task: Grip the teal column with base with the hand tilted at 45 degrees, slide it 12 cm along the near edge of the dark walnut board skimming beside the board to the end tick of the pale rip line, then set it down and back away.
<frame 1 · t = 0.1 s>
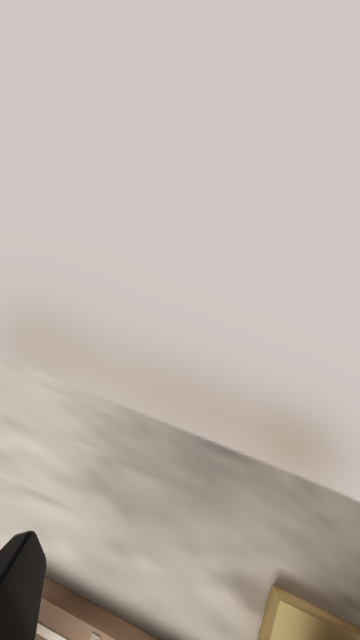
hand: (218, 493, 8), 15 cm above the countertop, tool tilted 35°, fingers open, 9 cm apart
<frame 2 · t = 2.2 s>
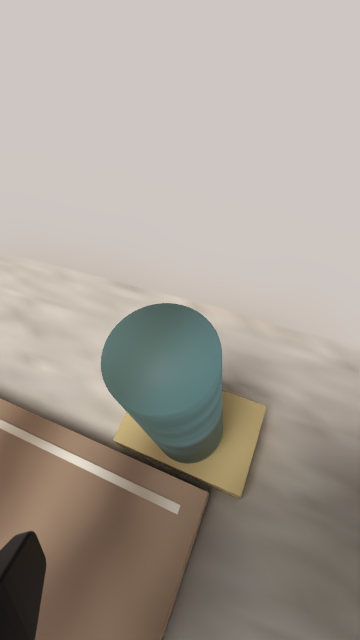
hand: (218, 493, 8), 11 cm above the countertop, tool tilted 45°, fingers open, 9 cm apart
teal column with base: (191, 434, 19), on the countertop
board: (17, 493, 18), on the countertop
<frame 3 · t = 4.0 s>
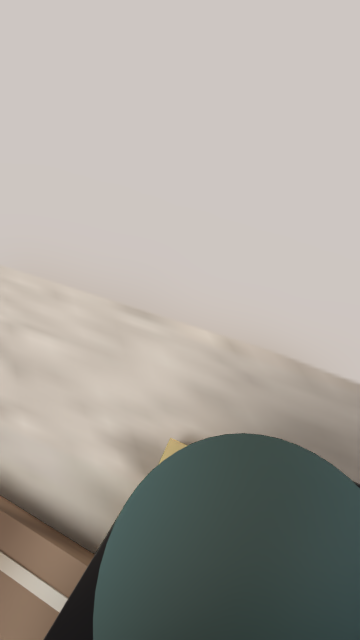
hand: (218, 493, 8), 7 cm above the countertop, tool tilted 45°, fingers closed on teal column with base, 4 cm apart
teal column with base: (229, 546, 13), on the countertop, touching gripper
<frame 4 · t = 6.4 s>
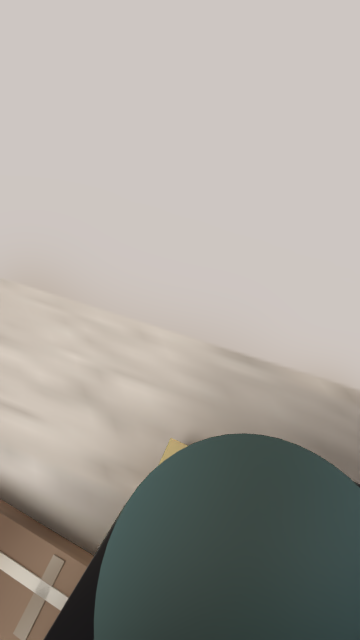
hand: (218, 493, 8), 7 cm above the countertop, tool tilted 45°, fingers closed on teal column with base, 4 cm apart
teal column with base: (230, 546, 13), point 1 cm above the countertop, touching gripper
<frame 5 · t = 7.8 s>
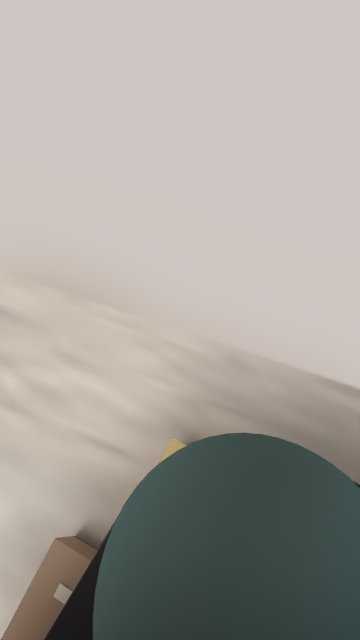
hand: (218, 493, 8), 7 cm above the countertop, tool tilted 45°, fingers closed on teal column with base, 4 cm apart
teal column with base: (229, 546, 13), point 1 cm above the countertop, touching gripper
when the fingers open (7 cm above the countertop, at t = 8.6 s): teal column with base stays where it is, on the countertop.
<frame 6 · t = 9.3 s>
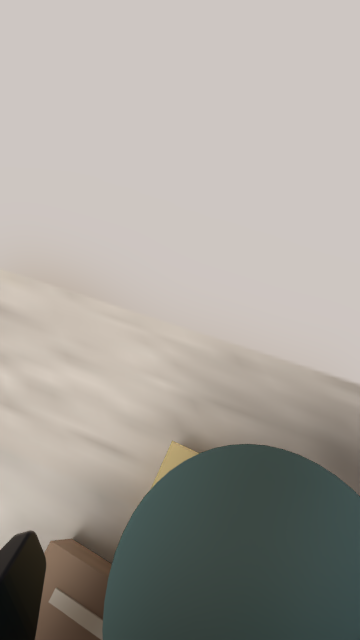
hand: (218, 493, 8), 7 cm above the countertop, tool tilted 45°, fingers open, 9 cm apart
teal column with base: (230, 548, 13), on the countertop
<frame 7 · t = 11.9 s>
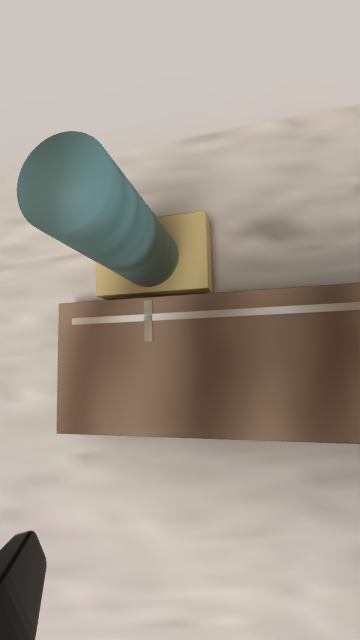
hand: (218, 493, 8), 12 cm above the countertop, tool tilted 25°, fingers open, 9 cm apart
teal column with base: (159, 266, 22), on the countertop
board: (222, 363, 20), on the countertop
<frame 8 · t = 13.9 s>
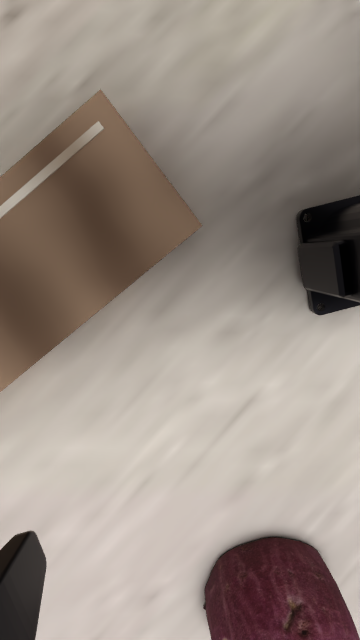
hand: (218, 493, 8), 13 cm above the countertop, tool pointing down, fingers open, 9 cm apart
vegetable: (265, 588, 26), on the countertop
board: (20, 282, 19), on the countertop
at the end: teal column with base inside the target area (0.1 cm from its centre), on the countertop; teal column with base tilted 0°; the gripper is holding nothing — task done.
